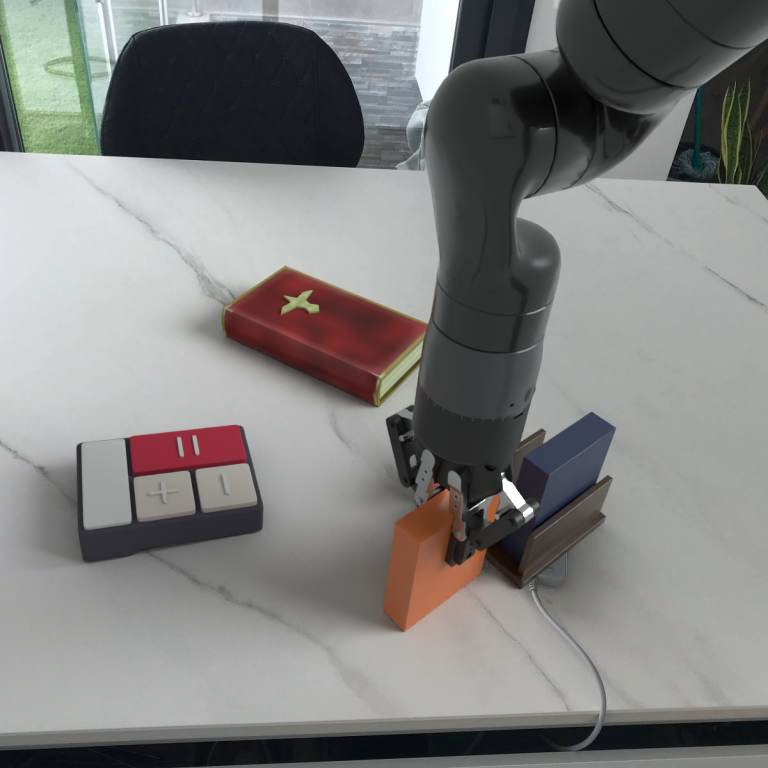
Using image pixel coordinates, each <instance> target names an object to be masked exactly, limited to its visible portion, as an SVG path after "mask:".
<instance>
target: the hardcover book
mask: <svg viewBox="0 0 768 768" xmlns="http://www.w3.org/2000/svg"><path fill="white" fill-rule="evenodd" d="M428 323H429V322H428ZM428 323H427V322H425V321H423V320H420V319H418V318H416V317H414V316H411V315H408V314H406V313H403V312H400V311H398V310H396V309H393V308H391V307H388V306H385V305H383V304H381V303H379V302H376V301H374V300H372V299H369V298H367V297H364V296H362V295H358V294H357V293H354V292H352V291H349V290H347V289H344V288H341V287H339V286H336V285H335V284H332V283H329V282H327V281H324V280H322V279H320V278H317V277H314V276H313V275H310V274H308V273H305V272H302V271H300V270H298V269H295V268H292V267H291V266H288V265H284V266H282V267H281V268H279V269H278V270H276V271H275V272H273V273H271V275H269V276H268V277H266V278H265V279H263V280H262V281H261V282H258V283H257V284H256V285H254V286H253V287H251V288H250V289H248V290H247V291H245V292H244V293H242V294H241V295H239V296H237V298H235V299H234V300H232V301H231V302H229V303H228V304H226V305H225V306H223V307H222V310H221V328H222V333H223V335H224V337H227V338H229V339H231V340H233V341H235V342H238V343H239V344H242V345H244V346H246V347H248V348H251V349H253V350H255V351H257V352H259V353H262V354H263V355H265V356H268V357H270V358H272V359H274V360H276V361H279V362H280V363H282V364H285V365H287V366H289V367H291V368H293V369H297V370H298V371H300V372H303V373H305V374H307V375H309V376H311V377H312V378H315V379H318V380H320V381H322V382H324V383H326V384H329V385H331V386H333V387H335V388H336V389H339V390H341V391H343V392H345V393H348V394H350V395H352V396H355V397H357V398H358V399H361V400H362V401H365V402H367V403H369V404H372V405H374V406H375V407H378V408H379V407H380V406H381V405H382V404H383V403H384V402H385V401H386V400H387V399H388V398H389V397H391V395H393V393H394V392H395V391H397V389H398V388H399V387H400V386H401V385H402V384H403V383H404V382H405V381H406V380H407V379H408V378H409V377H410V376H411V375H412V374H413V373H414V372H415V371H416V370H417V369H418V368H419V366H420V359H421V352H422V345H423V340H424V336H425V332H426V329H427V326H428Z"/></svg>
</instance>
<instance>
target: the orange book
mask: <svg viewBox="0 0 768 768" xmlns="http://www.w3.org/2000/svg"><path fill="white" fill-rule="evenodd" d="M449 496H450V492H449V491H448V490H447V489H445V490H444V491H442V492H440V493H439V494H437V495H436V496H434V497H433V498H431V499H430V500H428V501H427V502H425V503H424V504H422V505H420V506H419V507H417V506H416V508H414V509H413V510H411V511H409V512H408V513H406V514H405V515H404V516H402V517H400V518H399V519H397V520H396V521H394V527H393V533H392V541H391V549H390V555H389V557H390V558H389V564H388V572H387V578H386V585H385V594H384V601H383V607H382V608H383V609H382V611H383V612H384V613H385V614H386V615H387V616H388V617H389V618H390V619H391V620H392V621H393V622H394V623H395V625H397V626H398V628H400V630H402V631H403V632H404V633H406V632H407V631H408V630H409V629H411V628H412V627H413V626H414V625H416V624H417V623H418V622H420V621H421V620H423V618H425V617H426V616H427V615H429V614H431V612H433V611H434V610H435V609H437V608H438V607H439V606H440V605H442V604H443V603H444V602H446V601H447V600H448V599H450V598H451V597H452V596H454V595H455V594H456V593H458V592H459V591H460V590H461V589H463V588H464V587H465V586H467V585H468V584H469V583H471V582H472V581H473V580H475V579H476V578H477V577H479V576H480V575H481V573H482V569H483V565H484V561H485V559H486V558H485V554H486V550H487V548H486V549H485V550H483V551H478V550H477V549H475V554H474V555H473V556H472V557H471V558H469V559H468V560H466V561H465V562H464V563H462V564H461V565H460V566H459V565H458V564H456V565H455V566H453V567H451V566H449V565H448V564H447V563H446V562H445V557H446V552H447V548H448V543H449V538H450V533H451V532H453V531H452V528H453V515H452V514H451V513H449ZM498 504H499V497H498V495H497V494H496V495H493V499H492V501H491V503H490V504H489V506H488V513H487V520H488V521H490V522H494V519H495V517H494V514H495V513H496V511H497V506H498Z"/></svg>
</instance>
